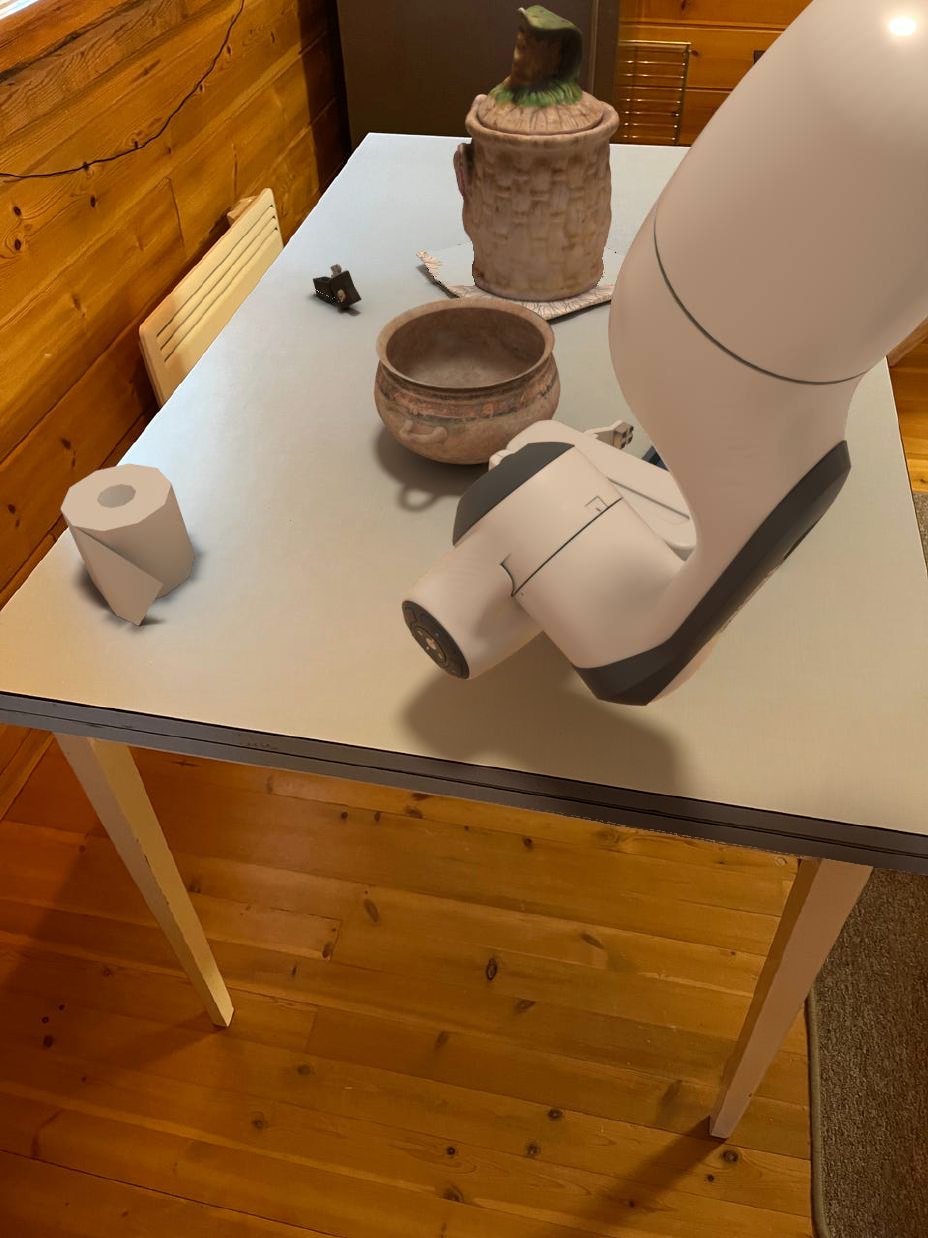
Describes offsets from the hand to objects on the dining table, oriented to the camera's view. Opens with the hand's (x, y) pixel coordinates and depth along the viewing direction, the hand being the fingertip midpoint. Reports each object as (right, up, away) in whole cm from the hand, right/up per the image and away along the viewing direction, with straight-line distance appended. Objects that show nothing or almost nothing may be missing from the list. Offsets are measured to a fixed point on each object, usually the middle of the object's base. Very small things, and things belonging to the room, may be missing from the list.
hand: (672, 449), depth 79 cm
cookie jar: (-8, +32, +47) cm, 57 cm away
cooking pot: (-17, +4, +20) cm, 27 cm away
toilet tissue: (-48, -11, +7) cm, 49 cm away
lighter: (-35, +27, +44) cm, 62 cm away
